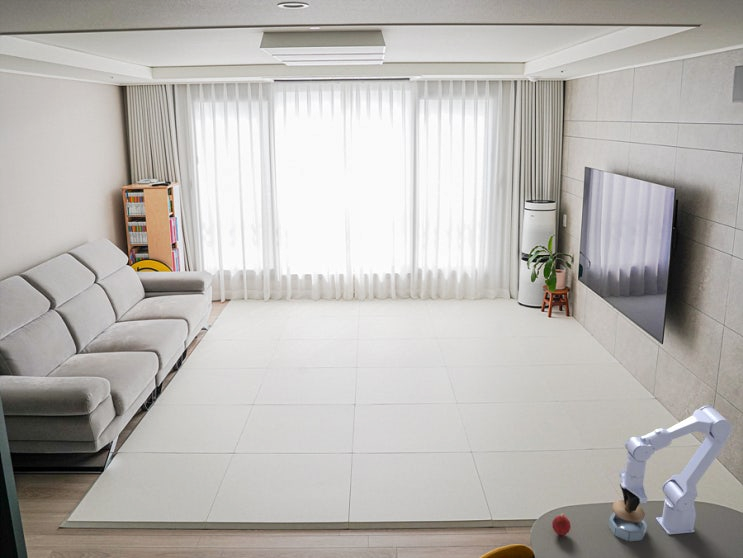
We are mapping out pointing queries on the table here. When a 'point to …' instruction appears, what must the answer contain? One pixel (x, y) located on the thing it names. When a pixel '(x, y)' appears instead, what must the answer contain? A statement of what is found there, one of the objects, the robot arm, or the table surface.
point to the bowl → (627, 528)
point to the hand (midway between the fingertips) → (630, 507)
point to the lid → (627, 511)
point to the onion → (561, 525)
